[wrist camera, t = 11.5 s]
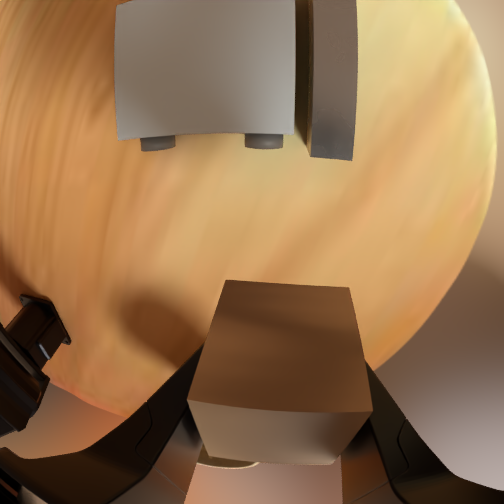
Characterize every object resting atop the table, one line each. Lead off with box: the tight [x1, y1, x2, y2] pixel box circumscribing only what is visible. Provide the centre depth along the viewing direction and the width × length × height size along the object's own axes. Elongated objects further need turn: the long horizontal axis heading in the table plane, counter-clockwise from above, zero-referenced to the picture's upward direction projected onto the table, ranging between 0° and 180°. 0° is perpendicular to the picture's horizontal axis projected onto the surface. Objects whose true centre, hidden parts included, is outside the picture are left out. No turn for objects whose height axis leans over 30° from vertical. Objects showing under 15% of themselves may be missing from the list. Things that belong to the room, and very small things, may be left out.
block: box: [187, 280, 373, 465], centre depth 8 cm, size 4×4×4 cm
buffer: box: [306, 0, 358, 161], centre depth 11 cm, size 2×10×3 cm, turn 0°
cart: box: [114, 0, 295, 151], centre depth 12 cm, size 9×10×3 cm
